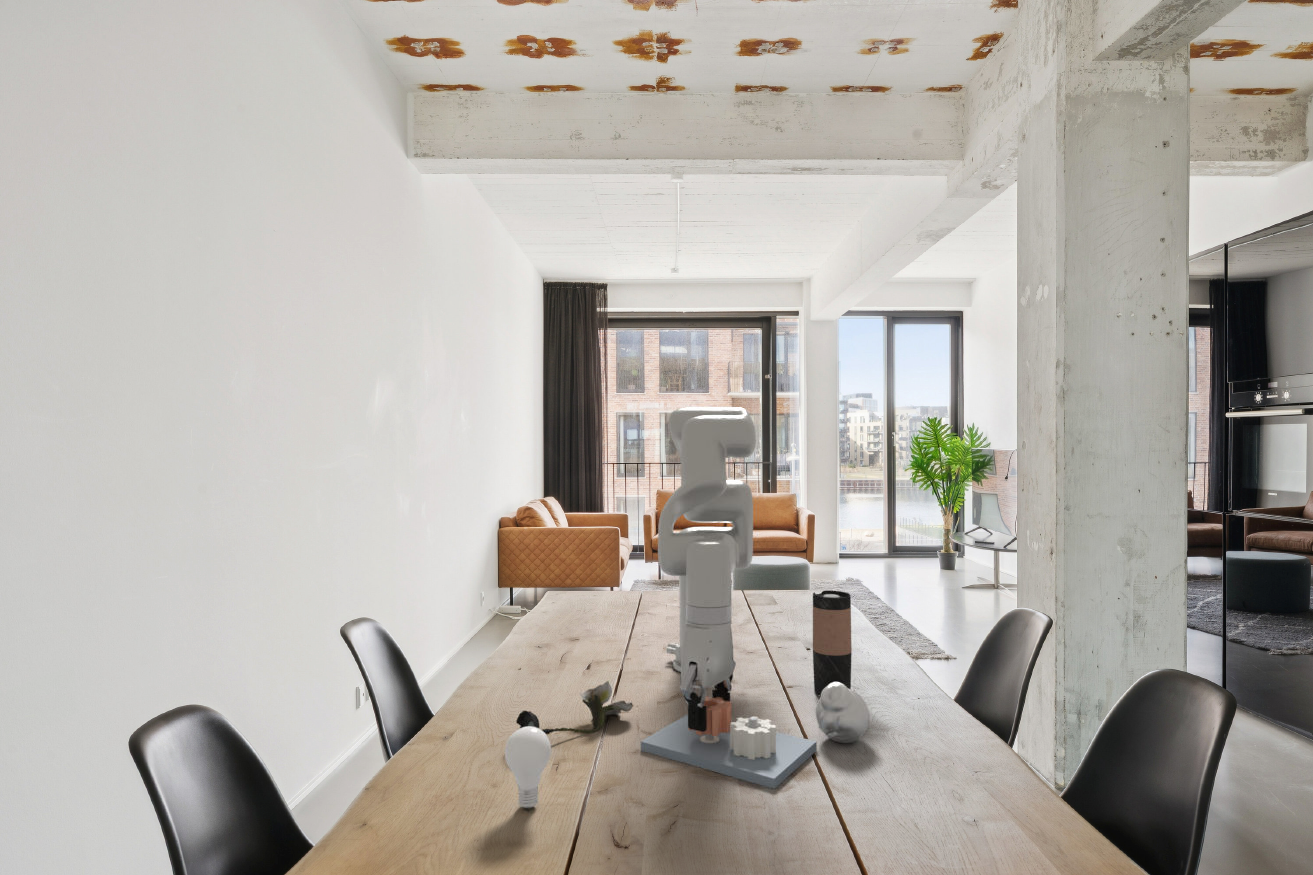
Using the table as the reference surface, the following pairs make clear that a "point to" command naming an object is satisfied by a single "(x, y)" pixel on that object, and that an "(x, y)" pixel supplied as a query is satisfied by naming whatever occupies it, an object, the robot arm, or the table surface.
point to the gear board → (729, 753)
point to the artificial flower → (595, 704)
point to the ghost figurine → (842, 713)
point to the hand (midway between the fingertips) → (709, 721)
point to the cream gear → (753, 738)
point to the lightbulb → (528, 761)
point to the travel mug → (831, 639)
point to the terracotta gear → (717, 716)
